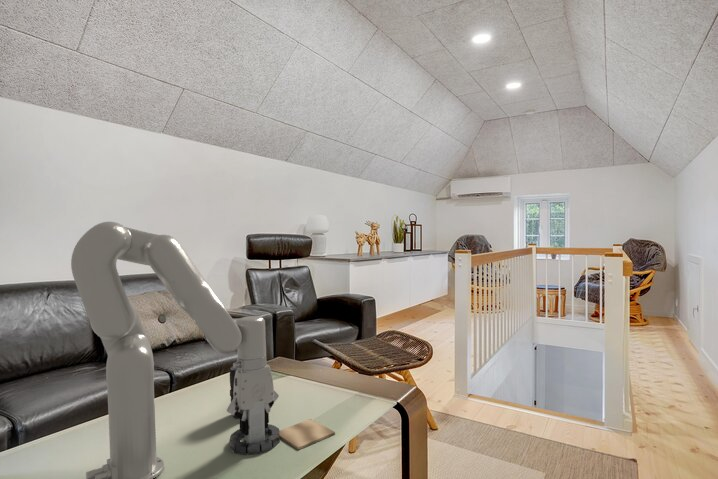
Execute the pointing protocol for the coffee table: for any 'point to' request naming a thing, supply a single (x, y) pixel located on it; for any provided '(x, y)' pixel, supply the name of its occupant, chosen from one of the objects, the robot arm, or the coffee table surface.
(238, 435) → the collar
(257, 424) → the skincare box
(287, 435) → the pad
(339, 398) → the coffee table surface
